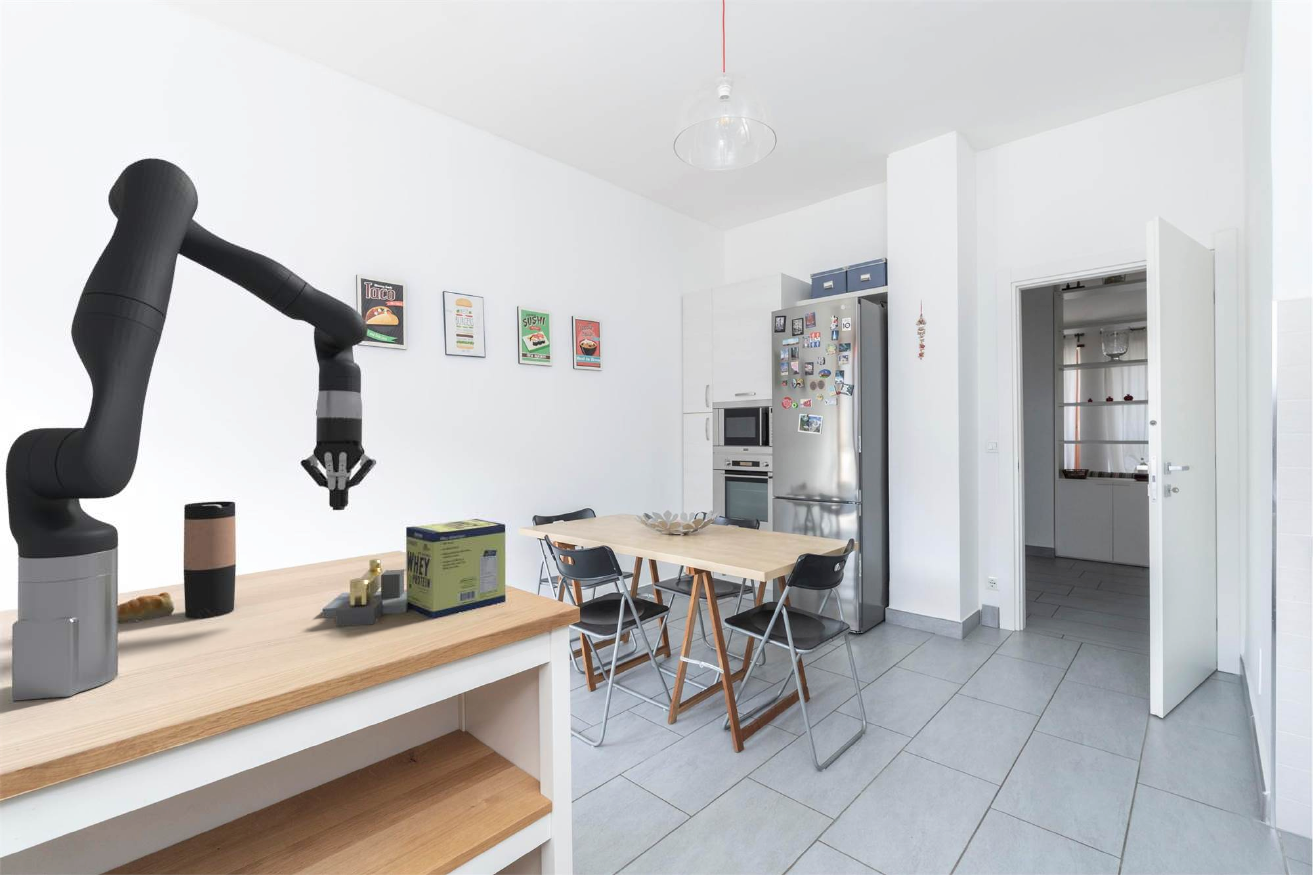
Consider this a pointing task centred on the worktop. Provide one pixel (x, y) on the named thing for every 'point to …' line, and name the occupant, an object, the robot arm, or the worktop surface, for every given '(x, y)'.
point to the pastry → (146, 607)
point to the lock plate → (371, 602)
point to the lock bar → (366, 584)
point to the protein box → (455, 567)
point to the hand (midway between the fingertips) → (338, 509)
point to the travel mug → (209, 559)
